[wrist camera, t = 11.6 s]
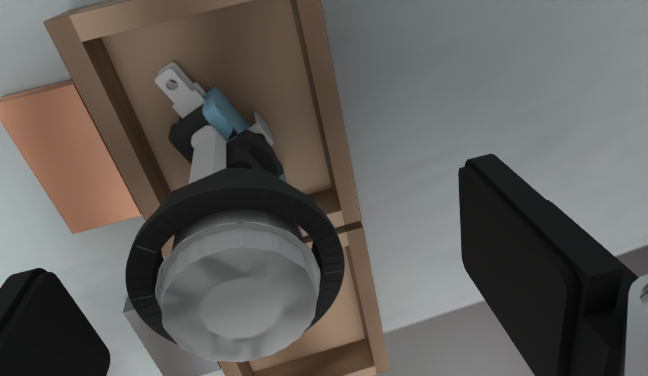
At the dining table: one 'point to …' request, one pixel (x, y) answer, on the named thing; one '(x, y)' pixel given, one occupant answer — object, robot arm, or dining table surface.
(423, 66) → the dining table surface
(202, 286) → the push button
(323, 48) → the terracotta tag dock
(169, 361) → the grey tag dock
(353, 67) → the dining table surface
